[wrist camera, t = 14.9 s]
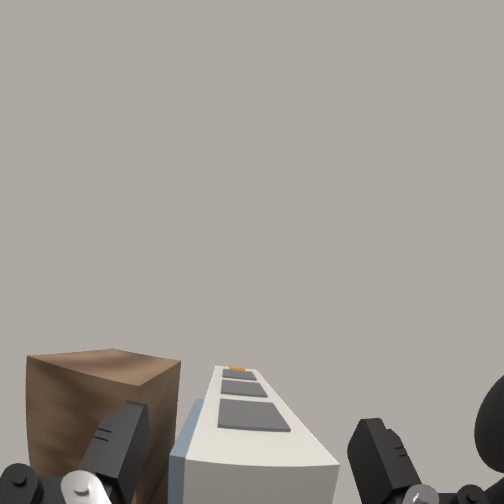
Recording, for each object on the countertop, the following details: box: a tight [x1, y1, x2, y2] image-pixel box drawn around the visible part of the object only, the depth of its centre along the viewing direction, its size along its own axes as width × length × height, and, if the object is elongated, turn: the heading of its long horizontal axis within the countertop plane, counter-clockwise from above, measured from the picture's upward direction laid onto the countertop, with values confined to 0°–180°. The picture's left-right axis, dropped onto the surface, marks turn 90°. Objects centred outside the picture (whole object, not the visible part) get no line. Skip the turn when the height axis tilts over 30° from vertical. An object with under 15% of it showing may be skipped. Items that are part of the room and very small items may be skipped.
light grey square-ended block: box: [183, 366, 340, 504], centre depth 19 cm, size 4×26×4 cm, turn 5°
